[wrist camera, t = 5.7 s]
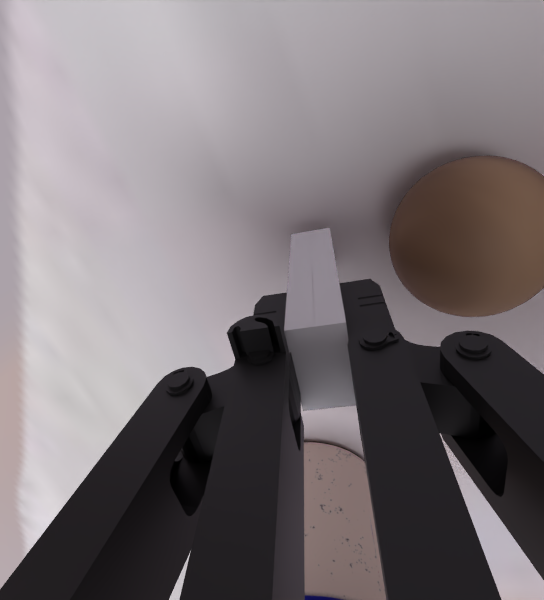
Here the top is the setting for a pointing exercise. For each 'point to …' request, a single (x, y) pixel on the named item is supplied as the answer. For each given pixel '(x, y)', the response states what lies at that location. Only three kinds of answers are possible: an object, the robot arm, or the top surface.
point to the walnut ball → (472, 236)
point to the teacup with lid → (339, 527)
